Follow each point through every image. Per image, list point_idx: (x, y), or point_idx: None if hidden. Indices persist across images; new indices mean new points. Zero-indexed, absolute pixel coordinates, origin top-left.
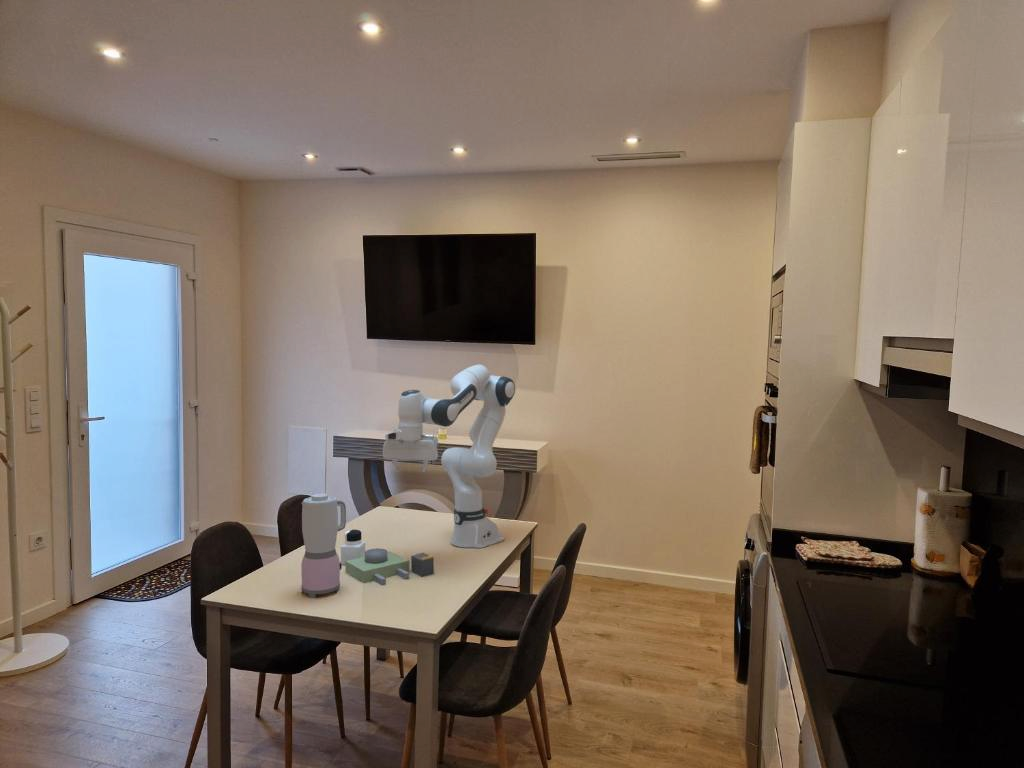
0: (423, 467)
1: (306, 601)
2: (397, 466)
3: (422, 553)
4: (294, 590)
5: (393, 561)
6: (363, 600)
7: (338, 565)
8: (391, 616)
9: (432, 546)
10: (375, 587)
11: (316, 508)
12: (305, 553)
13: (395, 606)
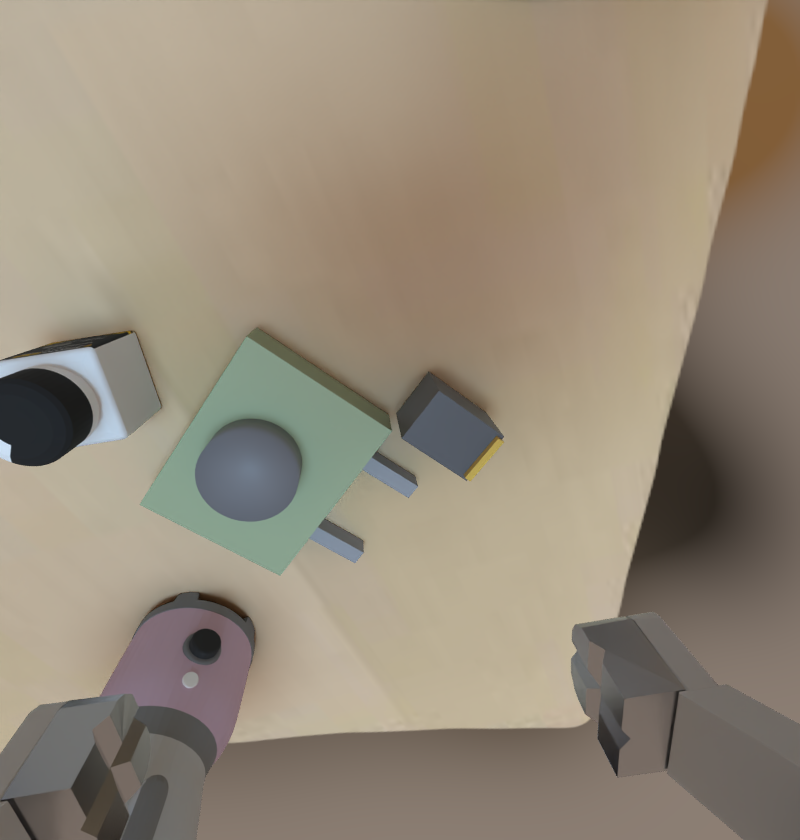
0: (701, 777)
1: None
2: (28, 835)
3: (439, 400)
4: (119, 652)
5: (333, 457)
6: (359, 651)
7: (234, 697)
8: (472, 700)
9: (348, 11)
10: (343, 570)
11: None
12: None
13: (459, 657)
